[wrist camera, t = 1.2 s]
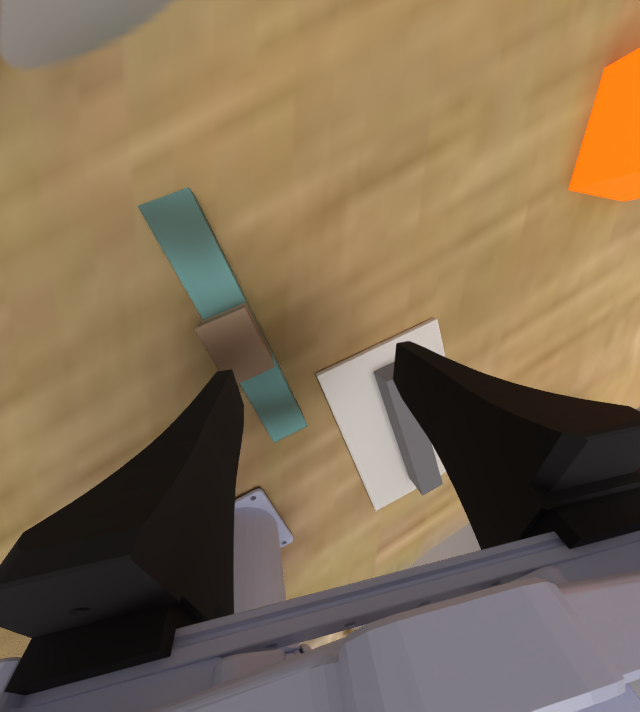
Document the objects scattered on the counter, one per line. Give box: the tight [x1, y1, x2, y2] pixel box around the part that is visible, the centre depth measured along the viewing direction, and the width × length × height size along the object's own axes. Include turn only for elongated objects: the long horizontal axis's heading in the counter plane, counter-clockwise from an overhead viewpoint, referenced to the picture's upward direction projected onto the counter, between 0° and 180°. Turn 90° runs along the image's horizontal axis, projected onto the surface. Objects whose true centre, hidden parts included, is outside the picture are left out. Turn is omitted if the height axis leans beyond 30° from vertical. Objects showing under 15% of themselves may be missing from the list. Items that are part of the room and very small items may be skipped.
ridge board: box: [316, 318, 446, 511], centre depth 25 cm, size 12×18×3 cm, turn 22°
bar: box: [138, 187, 307, 442], centre depth 18 cm, size 18×3×6 cm, turn 22°
